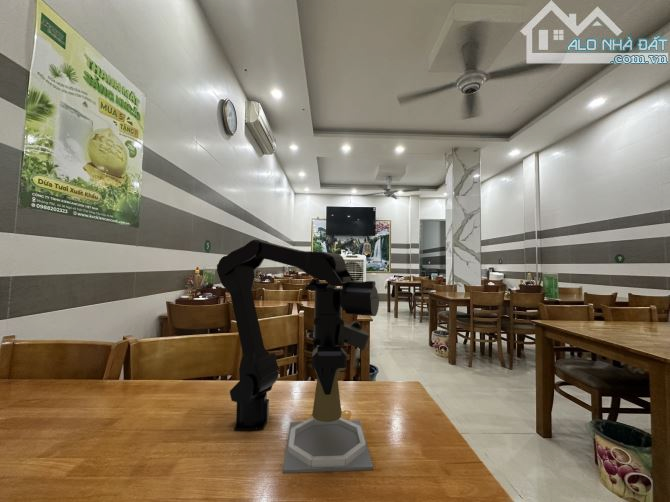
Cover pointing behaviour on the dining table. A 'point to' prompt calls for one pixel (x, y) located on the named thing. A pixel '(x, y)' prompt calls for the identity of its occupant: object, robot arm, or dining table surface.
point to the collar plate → (326, 447)
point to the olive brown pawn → (327, 402)
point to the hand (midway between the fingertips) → (327, 389)
